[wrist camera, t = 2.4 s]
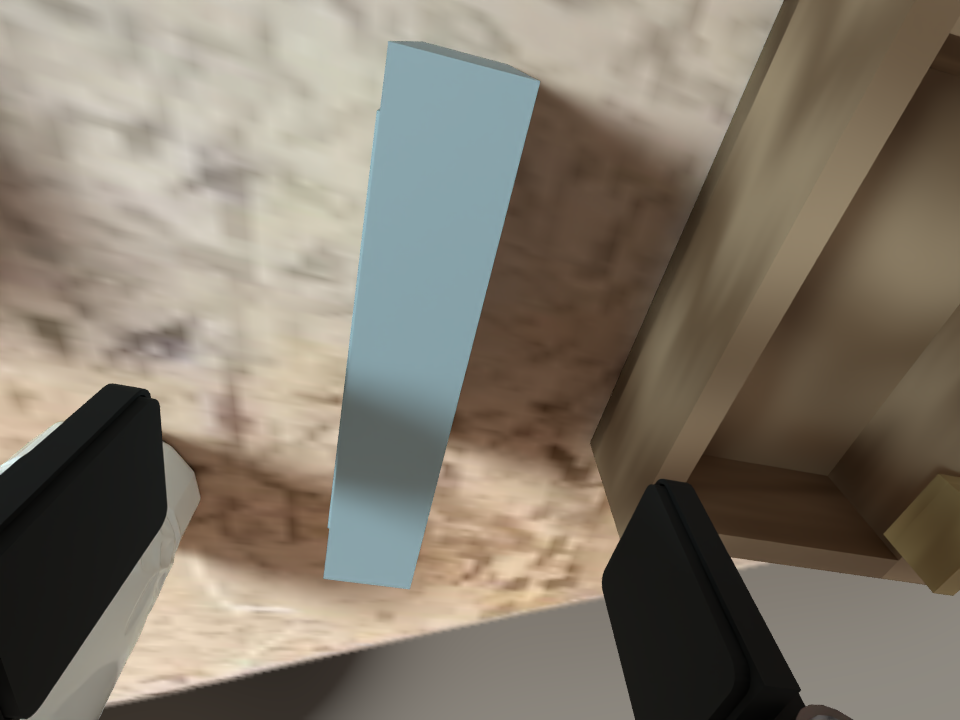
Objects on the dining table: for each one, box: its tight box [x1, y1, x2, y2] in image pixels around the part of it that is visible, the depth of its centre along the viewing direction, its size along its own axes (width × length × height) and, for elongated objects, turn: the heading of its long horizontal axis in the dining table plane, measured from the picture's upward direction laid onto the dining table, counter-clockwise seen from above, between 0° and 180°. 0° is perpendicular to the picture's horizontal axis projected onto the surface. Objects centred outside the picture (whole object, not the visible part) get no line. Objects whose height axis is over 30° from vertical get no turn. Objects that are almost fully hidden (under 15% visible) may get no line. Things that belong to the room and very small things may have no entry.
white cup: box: [0, 421, 201, 720], centre depth 18 cm, size 8×8×10 cm
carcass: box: [590, 0, 960, 596], centre depth 16 cm, size 16×13×7 cm
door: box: [323, 41, 540, 589], centre depth 15 cm, size 13×2×8 cm, turn 167°
